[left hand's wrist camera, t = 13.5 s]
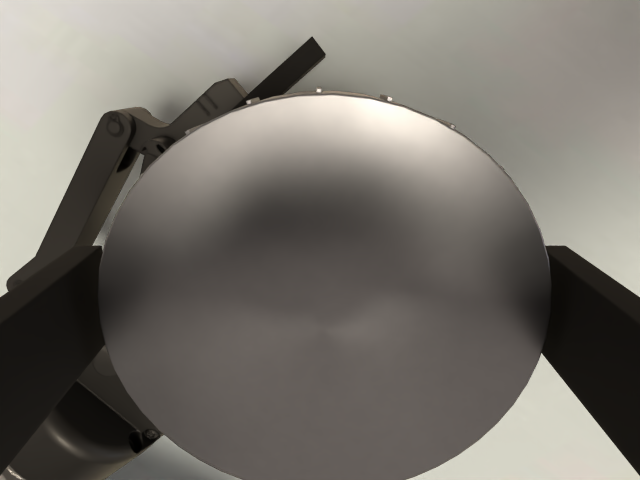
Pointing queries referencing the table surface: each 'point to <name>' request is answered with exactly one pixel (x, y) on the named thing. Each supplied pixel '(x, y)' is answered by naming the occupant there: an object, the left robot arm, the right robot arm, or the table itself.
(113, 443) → the right robot arm
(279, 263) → the lid
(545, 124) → the table surface
